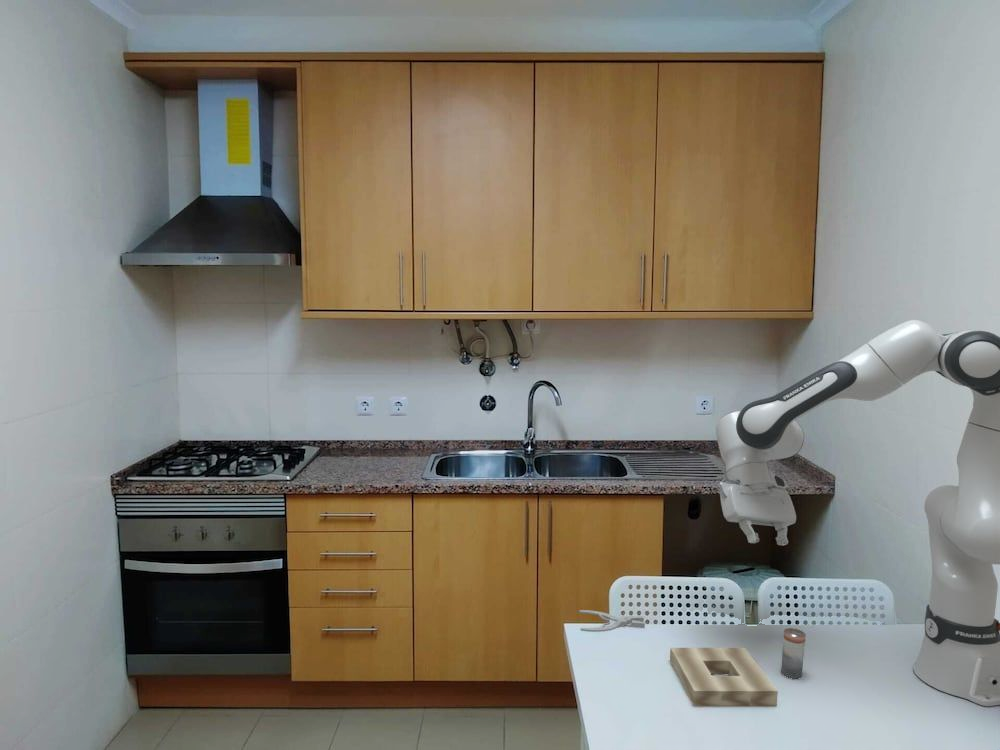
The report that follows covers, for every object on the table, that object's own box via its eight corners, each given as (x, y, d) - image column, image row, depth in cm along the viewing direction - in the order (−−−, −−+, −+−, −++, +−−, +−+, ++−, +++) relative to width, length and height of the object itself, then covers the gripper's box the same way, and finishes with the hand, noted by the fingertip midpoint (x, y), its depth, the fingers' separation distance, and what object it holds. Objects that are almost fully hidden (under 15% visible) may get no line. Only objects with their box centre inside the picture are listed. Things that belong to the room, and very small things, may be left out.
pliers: (579, 606, 168) (641, 610, 167) (579, 612, 169) (641, 616, 167) (580, 625, 159) (647, 629, 157) (580, 632, 159) (646, 636, 158)
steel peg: (796, 668, 145) (799, 628, 144) (805, 679, 141) (809, 637, 140) (777, 668, 145) (780, 628, 144) (786, 679, 141) (789, 637, 139)
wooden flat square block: (743, 661, 147) (744, 647, 147) (776, 705, 131) (777, 691, 131) (669, 660, 147) (670, 647, 146) (693, 705, 131) (694, 691, 130)
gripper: (729, 472, 146) (748, 536, 139) (790, 481, 156) (810, 541, 149) (707, 482, 150) (724, 545, 144) (768, 491, 161) (787, 550, 154)
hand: (769, 543), depth 147 cm, fingers open, 8 cm apart
